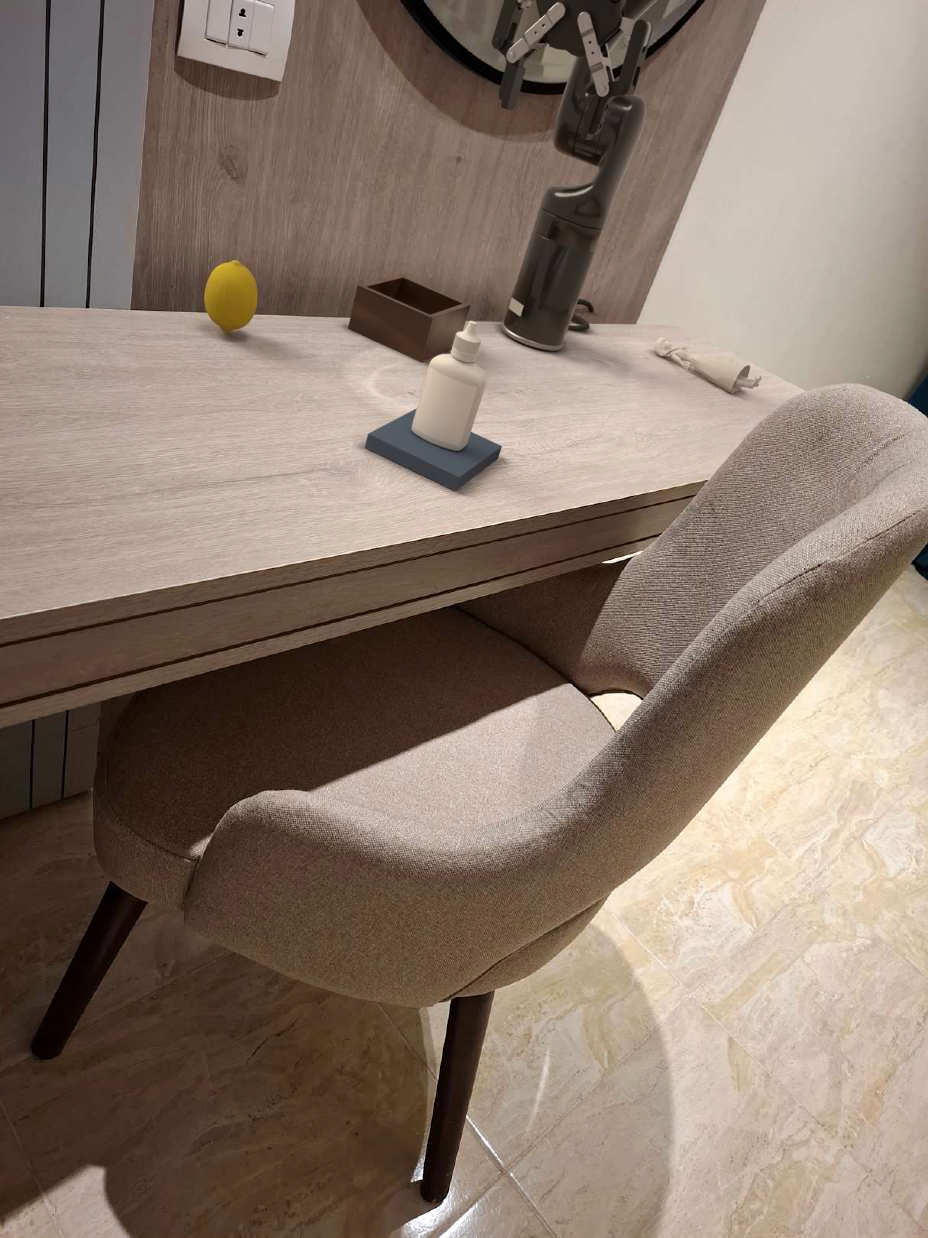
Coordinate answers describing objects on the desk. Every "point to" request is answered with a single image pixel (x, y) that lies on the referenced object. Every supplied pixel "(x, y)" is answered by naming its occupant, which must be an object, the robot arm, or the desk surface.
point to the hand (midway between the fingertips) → (545, 123)
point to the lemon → (231, 296)
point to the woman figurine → (710, 367)
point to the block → (432, 453)
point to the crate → (407, 316)
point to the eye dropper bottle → (451, 394)
